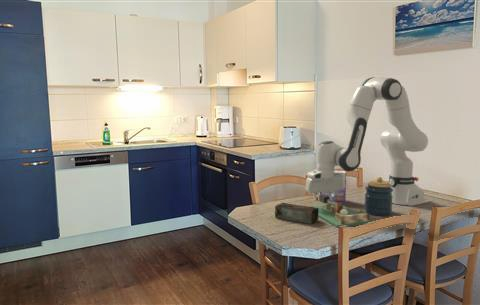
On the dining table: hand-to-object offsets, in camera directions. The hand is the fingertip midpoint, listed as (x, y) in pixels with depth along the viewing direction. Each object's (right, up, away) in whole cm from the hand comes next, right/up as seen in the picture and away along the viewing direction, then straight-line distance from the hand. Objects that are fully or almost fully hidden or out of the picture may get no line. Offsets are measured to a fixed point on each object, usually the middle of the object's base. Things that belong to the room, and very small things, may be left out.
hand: (324, 200), depth 203 cm
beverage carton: (-16, -7, -16) cm, 24 cm away
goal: (+8, -8, -22) cm, 25 cm away
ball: (+6, -4, -17) cm, 18 cm away
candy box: (+8, -2, +16) cm, 18 cm away
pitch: (+4, -6, -11) cm, 14 cm away
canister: (+25, -6, -5) cm, 26 cm away
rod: (+2, -4, -5) cm, 7 cm away
